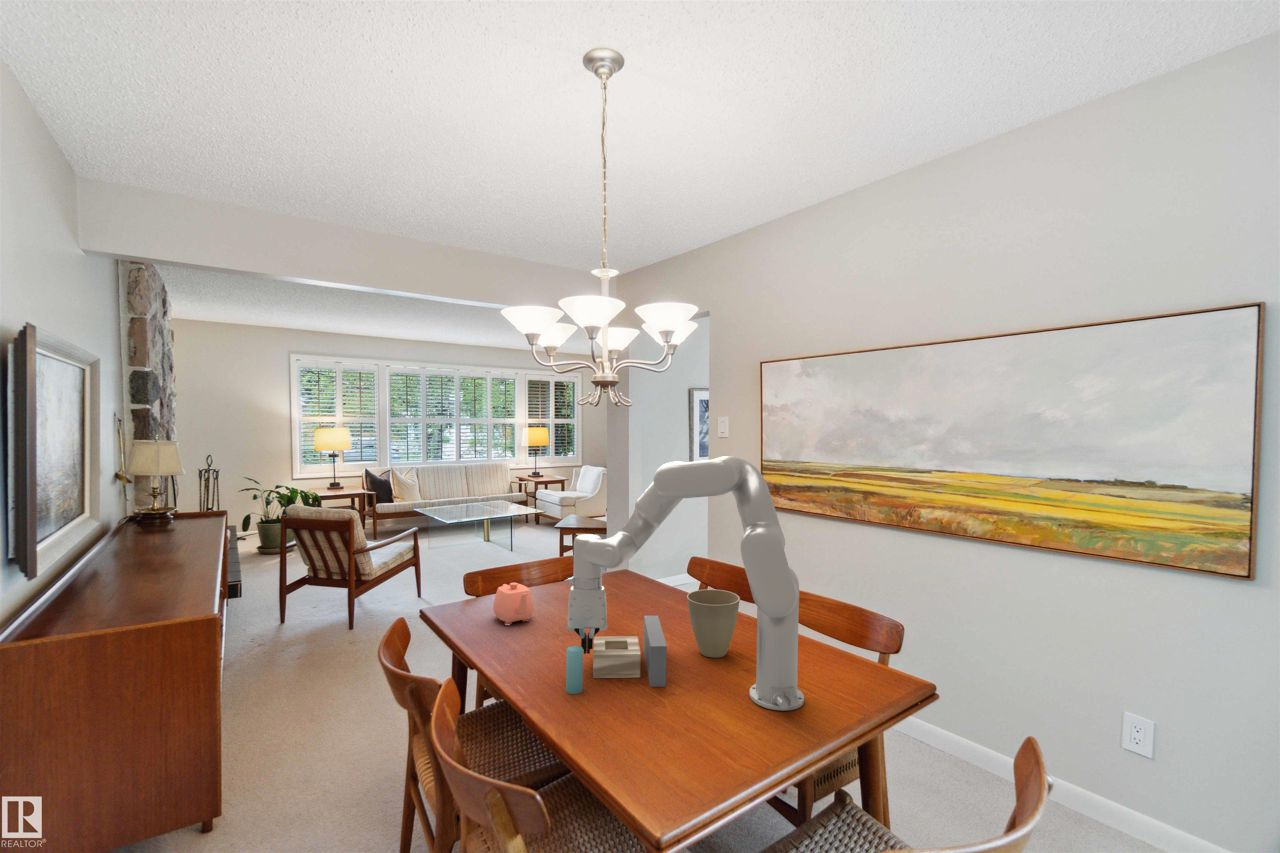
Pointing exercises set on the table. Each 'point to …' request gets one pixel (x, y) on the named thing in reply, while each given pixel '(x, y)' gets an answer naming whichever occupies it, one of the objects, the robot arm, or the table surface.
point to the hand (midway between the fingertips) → (586, 651)
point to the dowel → (574, 669)
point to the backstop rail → (655, 651)
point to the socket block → (616, 657)
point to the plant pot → (713, 619)
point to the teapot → (513, 603)
